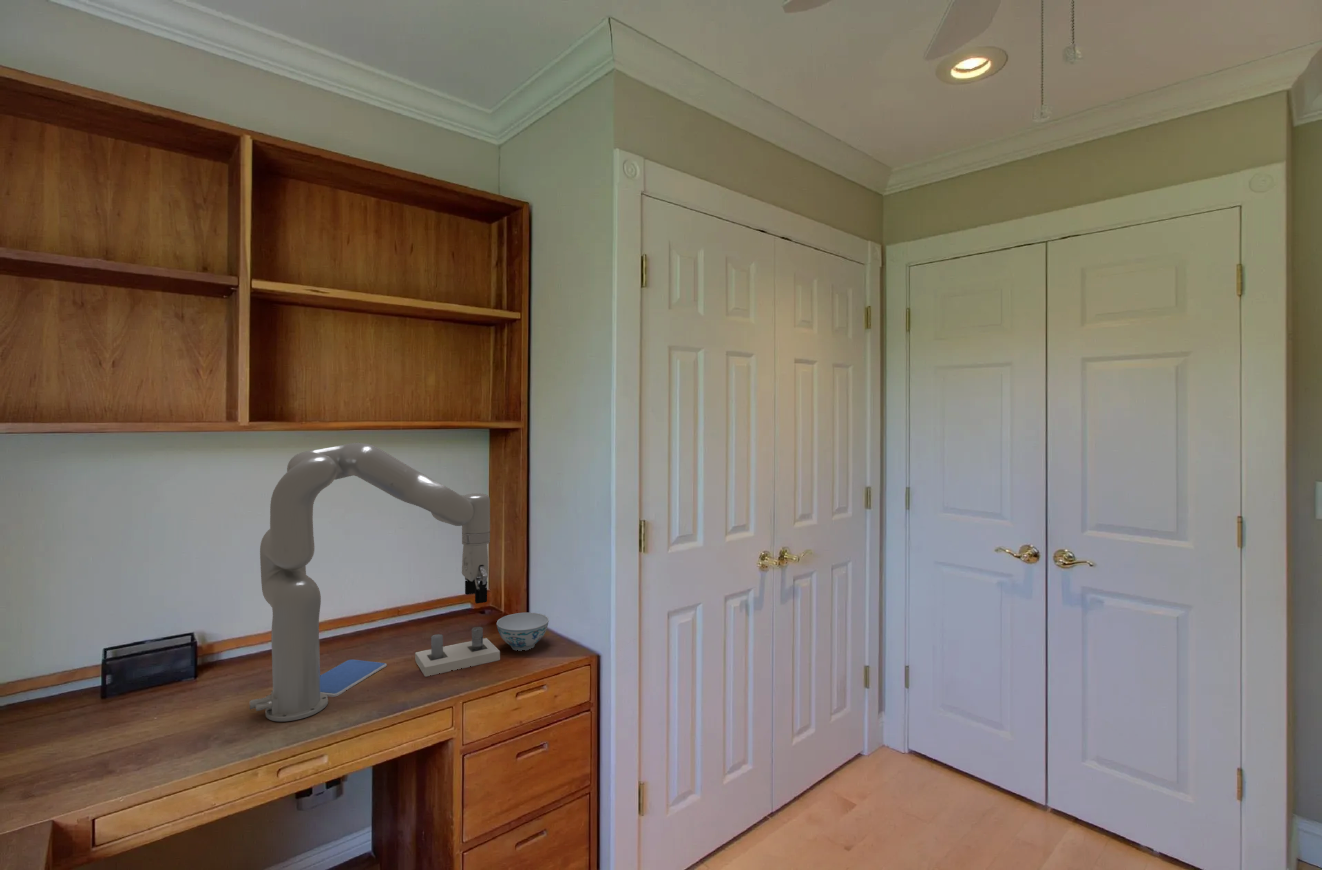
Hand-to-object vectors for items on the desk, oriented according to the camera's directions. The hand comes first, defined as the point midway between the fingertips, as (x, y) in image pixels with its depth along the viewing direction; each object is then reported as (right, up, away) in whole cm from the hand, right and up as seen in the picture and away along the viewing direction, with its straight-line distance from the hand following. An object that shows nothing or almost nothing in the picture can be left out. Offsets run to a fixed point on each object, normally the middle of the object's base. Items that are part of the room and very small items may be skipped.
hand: (475, 598), depth 175 cm
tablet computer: (-31, -18, -13) cm, 38 cm away
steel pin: (0, -17, +1) cm, 17 cm away
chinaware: (+12, -17, +8) cm, 22 cm away
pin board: (-4, -17, -2) cm, 18 cm away
